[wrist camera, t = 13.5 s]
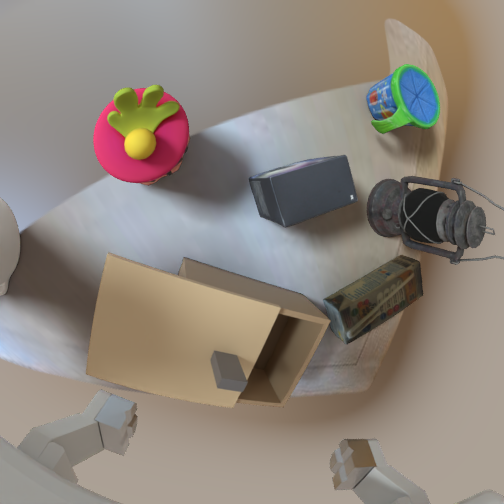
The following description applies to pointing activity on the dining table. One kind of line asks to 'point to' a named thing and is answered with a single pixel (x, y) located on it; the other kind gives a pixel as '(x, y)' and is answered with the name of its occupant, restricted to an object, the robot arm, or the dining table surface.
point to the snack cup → (404, 100)
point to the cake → (141, 135)
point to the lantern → (428, 216)
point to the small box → (304, 189)
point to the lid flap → (175, 334)
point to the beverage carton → (374, 298)
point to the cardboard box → (271, 333)
